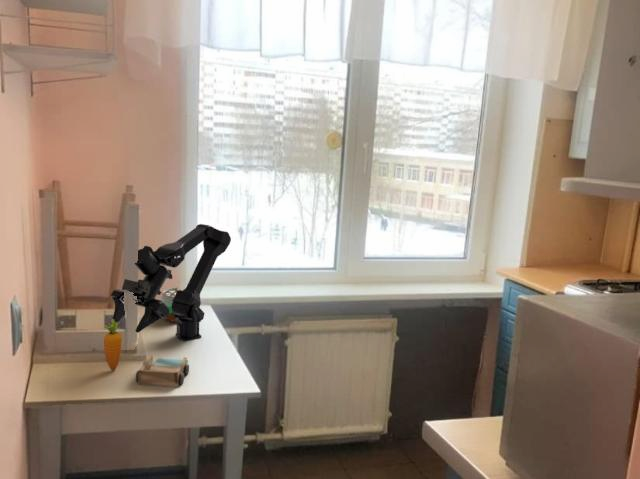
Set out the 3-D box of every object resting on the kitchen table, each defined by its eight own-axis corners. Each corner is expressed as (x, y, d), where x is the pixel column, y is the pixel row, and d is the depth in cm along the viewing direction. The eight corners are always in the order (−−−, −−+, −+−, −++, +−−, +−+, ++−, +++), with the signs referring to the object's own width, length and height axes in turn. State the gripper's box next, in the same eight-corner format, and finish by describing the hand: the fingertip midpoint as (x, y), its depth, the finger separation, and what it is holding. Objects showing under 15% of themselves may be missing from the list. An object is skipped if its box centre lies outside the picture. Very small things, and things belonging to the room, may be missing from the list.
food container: (159, 313, 217) (159, 287, 215) (176, 313, 219) (177, 286, 217) (162, 325, 206) (163, 298, 203) (181, 324, 208) (181, 297, 206)
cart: (152, 359, 178) (152, 346, 177) (194, 362, 178) (194, 349, 177) (134, 384, 162) (134, 370, 161) (180, 387, 162) (181, 373, 161)
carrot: (116, 375, 166) (116, 324, 163) (100, 373, 167) (99, 322, 164) (125, 368, 171) (125, 319, 168) (110, 366, 172) (109, 316, 169)
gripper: (114, 262, 176) (85, 307, 168) (163, 274, 167) (134, 321, 160) (134, 282, 184) (107, 326, 177) (181, 294, 176) (154, 340, 168)
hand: (124, 328), depth 170 cm, fingers open, 9 cm apart
